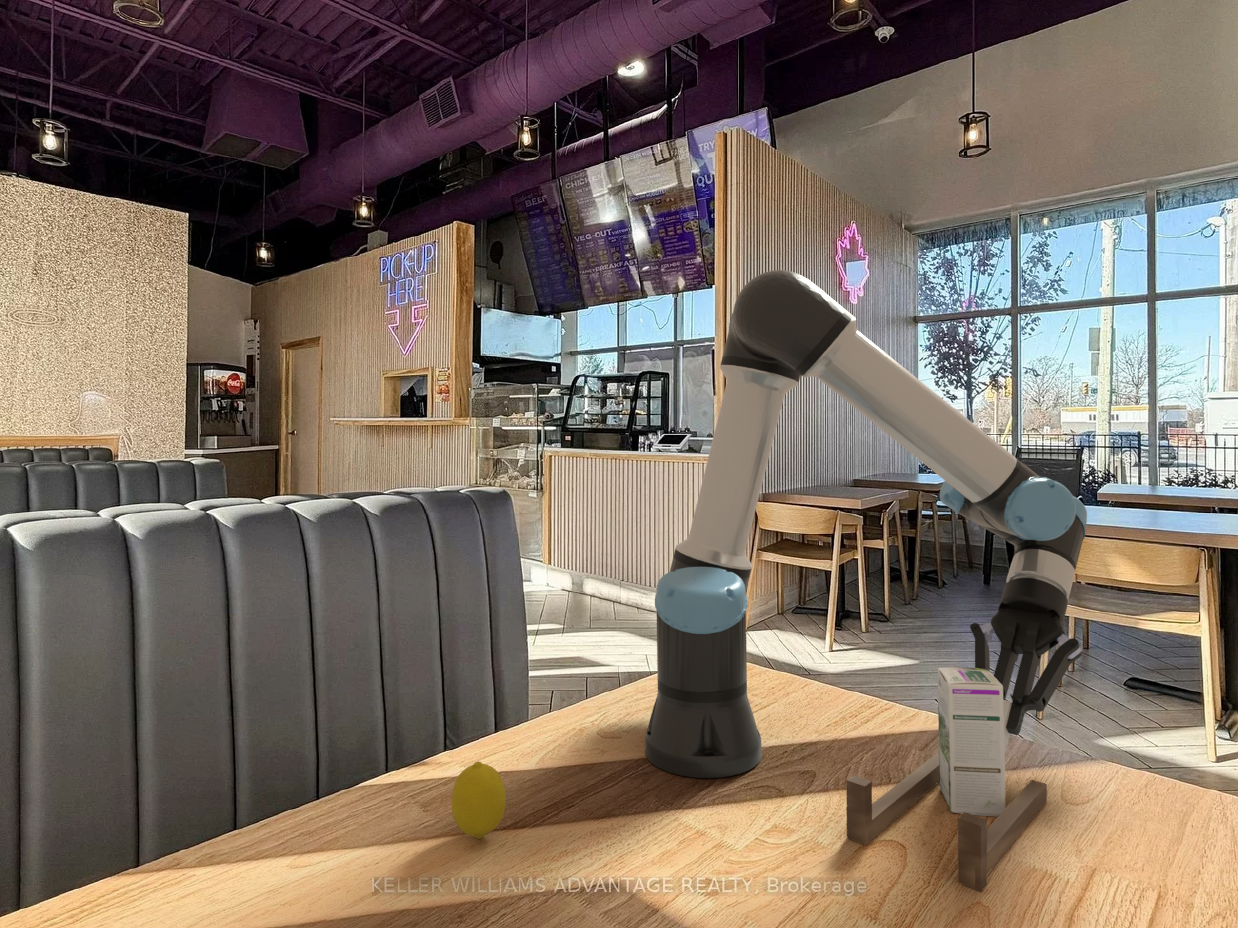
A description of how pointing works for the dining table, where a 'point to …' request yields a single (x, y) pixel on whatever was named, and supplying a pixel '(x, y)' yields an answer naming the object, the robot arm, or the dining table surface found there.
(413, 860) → the dining table surface
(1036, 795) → the brown wooden rack
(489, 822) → the lemon
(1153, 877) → the dining table surface
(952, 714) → the syrup box
